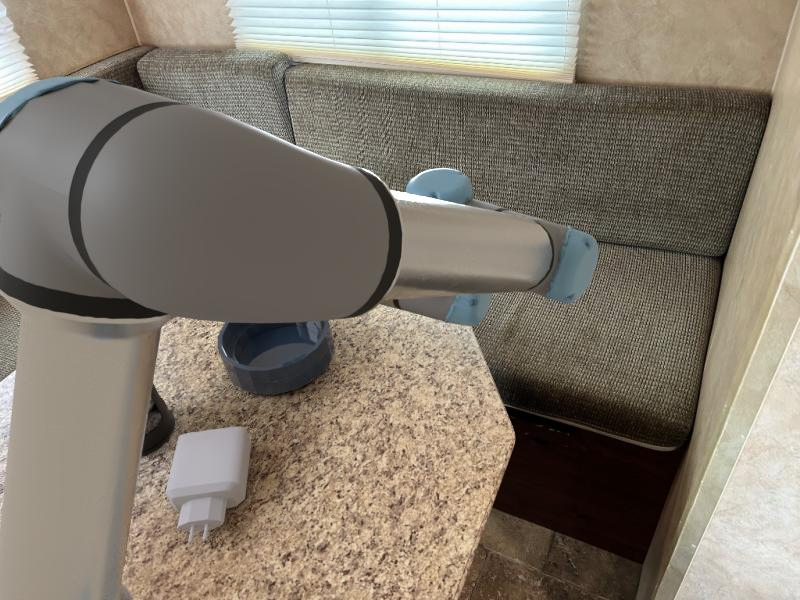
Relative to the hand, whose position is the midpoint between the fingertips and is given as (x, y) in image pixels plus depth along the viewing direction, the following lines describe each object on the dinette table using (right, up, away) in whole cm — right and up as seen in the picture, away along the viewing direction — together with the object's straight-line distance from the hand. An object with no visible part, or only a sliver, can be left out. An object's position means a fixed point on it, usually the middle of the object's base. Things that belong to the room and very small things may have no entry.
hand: (238, 242), depth 90 cm
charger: (-1, -35, -11) cm, 36 cm away
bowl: (+5, -18, +8) cm, 20 cm away
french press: (-14, -28, -1) cm, 32 cm away
